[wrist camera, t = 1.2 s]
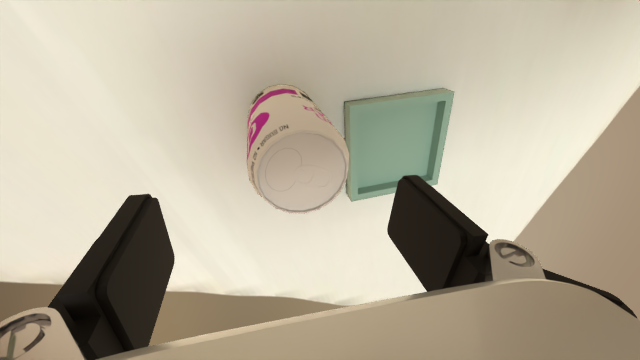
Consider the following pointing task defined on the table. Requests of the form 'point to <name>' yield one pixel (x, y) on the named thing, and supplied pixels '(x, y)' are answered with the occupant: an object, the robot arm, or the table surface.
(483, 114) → the table surface
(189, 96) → the table surface
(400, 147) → the tray
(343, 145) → the supplement can
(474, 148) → the table surface
